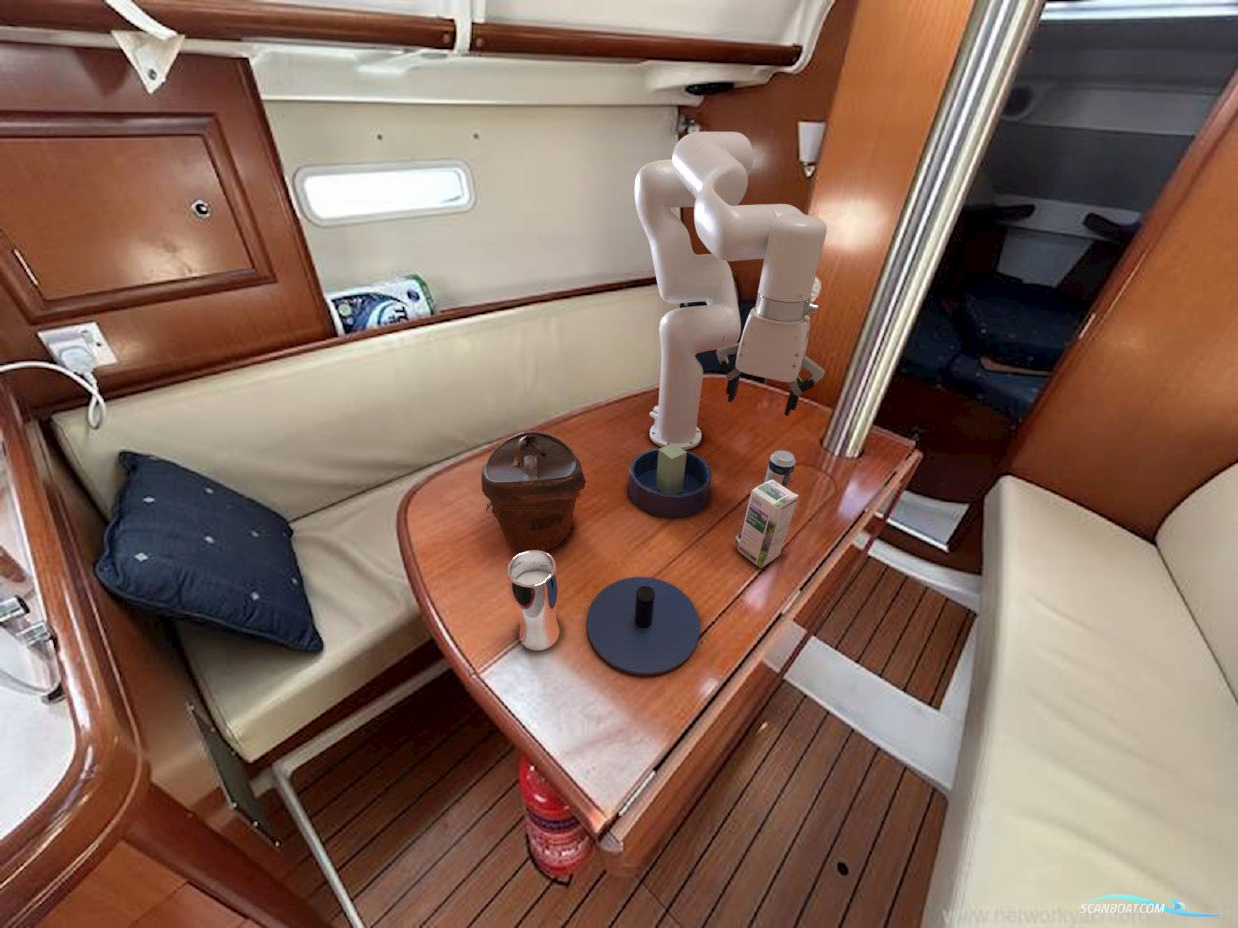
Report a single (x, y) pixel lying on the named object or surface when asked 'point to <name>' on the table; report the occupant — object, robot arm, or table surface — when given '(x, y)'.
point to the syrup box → (766, 522)
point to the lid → (643, 625)
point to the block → (670, 469)
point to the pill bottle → (781, 467)
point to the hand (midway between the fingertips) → (759, 405)
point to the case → (533, 489)
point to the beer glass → (535, 597)
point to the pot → (669, 504)
